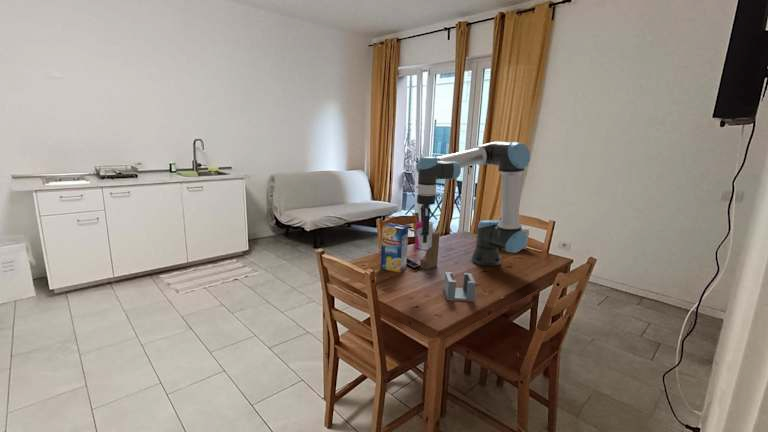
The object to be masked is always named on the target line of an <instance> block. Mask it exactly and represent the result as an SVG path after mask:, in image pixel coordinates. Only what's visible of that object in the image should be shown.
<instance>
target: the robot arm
mask: <svg viewBox="0 0 768 432" xmlns="http://www.w3.org/2000/svg"><path fill="white" fill-rule="evenodd" d="M530 152H531V151H530V149H529V147H528V146H527V145H526V144H525V143H523V142H518V141H500V140H499V141H492V142H488V143H484V144H480V145H477V146H475V147H474V148H472V149H471V148H470V149H467V150H464V151H463V150H462V151H459V152H455V153H449V154H446V155H441V156H435V157H434V156H422V157H420V158H419V160H418V161H417V162H416V165H415V166H416V167H415V168H416V172H417V173H418V175H417V176H418V177H417V179H418V180H417V186H416V189H417V196H416V203H417V204H418V205H421V207H420V221H422V233H421V234H420V235H422V236H421V250H420V251H423V250H427V247H428V235H429V222H430V218H431V211H432V209H431V207H430V205H431V206H432V205H434V204H435V203H436V192H437V181H439V180H457V179H458V178H459V176H460V175H461V171H462V169H463V168H466V167H471V166H474V165H477V166H483V165H493V166H498V167H497V168H498V172H499V173H500V174H501V181H500V182H501V183H500V184H501V188H500V190H501V191H500V220H496V219H495V220H494V219H483V220H480V221H479V222H478V223H477V230H476V231H477V232H476V243H475V245H476V246H475V248H474V250H473V252H472V254H471V259H470V260H471V262H472V263H474V264H476V265H479V266H484V267H497V266H499V265H500V264H501V257H500V252H499V249H501V250H503V251H506V252H508V253H512V254H514V253H518V252H520V251H521V250H523V249H522V248H523V247H524V245H525V243H526V239H527V236H526V234H525V232H523V231H522V227H523V225H522V223H520V222H519V220H520V219H519V218H520V197H521V196H520V195H521V175H522V174H523V172H524V171H525V168H526V167H528V166H529V163H530V162H531V153H530Z"/></svg>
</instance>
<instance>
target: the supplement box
mask: <svg viewBox="0 0 768 432" xmlns="http://www.w3.org/2000/svg"><path fill="white" fill-rule="evenodd" d="M433 224H434V222H431V221H429V235H428V247H427V250H421V236H422V235H420V234H421V233H422V221H421V220H419V221H418V222H416V224H415V225H416V226H415V244H414V246H415V247H414V249H415V250H419V251H424V252H426V251H428V250H429V249H430V248H431V246H432V231H433V226H434V225H433Z"/></svg>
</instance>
